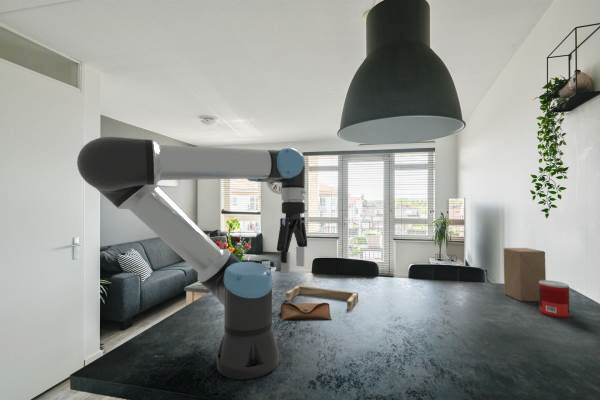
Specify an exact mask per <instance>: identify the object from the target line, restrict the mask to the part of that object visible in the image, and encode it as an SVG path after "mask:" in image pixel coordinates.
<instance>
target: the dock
mask: <svg viewBox="0 0 600 400" xmlns="http://www.w3.org/2000/svg"><path fill="white" fill-rule="evenodd" d="M300 294H301V295H309V296H315V297H322V298H331V299H338V300H346V310H349V311H351V310H352V309H353V307H354V306H355V305H356V304H357V302H358V301H359V292H355V291H347V290H338V289H331V288H322V287H316V286H315V287H314V286H306V285H296V286H294V287H293V288H291V289H290V290H288V291H286V292H285V301H287V302H290V301H291V300H292V299H294V298H295V297H297V296H298V295H300Z"/></svg>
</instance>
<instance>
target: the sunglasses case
mask: <svg viewBox="0 0 600 400" xmlns="http://www.w3.org/2000/svg"><path fill="white" fill-rule="evenodd" d="M280 319H281V320H280V321H281V322H282V321H284V322H285V321H308V320H309V321H311V320H312V321H315V320H316V321H317V320H319V321H320V320H321V321H322V320H323V321H331V320H332V317H331V311H330V304H329V303H328V302H320V303H314V302H313V303H312V302H311V303H305V302H303V303H291V302H290V303H289V302H283V303H281V305H280Z"/></svg>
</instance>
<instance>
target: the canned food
mask: <svg viewBox="0 0 600 400" xmlns="http://www.w3.org/2000/svg"><path fill="white" fill-rule="evenodd" d="M538 303H539V304H538V305H539V306H538V307H539V312H540V313H541V314H543V315H544V316H547V317H551V318H557V319H567V318H569V317H570V315H571V314H570V312H571V311H570V285H569V284H568V283H566V282H563V281H557V280H548V279H547V280H541V281H539V301H538Z"/></svg>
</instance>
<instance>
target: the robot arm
mask: <svg viewBox="0 0 600 400" xmlns="http://www.w3.org/2000/svg"><path fill="white" fill-rule="evenodd" d="M305 163H306V162H305V156H304V155H303V154H301V153H300V152H299V151H298V150H297V149H295V148H292V147H288V148H283V149H279V150H276V149H253V148H234V147H233V148H232V147H215V146H214V147H210V146H209V147H207V146H189V145H188V146H187V145H186V146H185V145H170V144H169V145H167V144H158V142H156V141H155V140H153V139H147V138H145V139H144V138H134V137H133V138H132V137H131V138H130V137H120V136H119V137H118V136H103V137H102V136H101V137H99V138H95V139H92V140H90V141H89V142H88V143H86V144H85V145H83V147H82V148H81V149H80V151H79V152H78V156H77V161H76V166H77V170H78V173H79V174H80V176H81V178H82V179H83V180H84V181H85V182H86V183H87V184H88V185H90V186H91V187H93V188H95V189H96V190H97V191H98V192H99V193H101V194H102V195H103V196H104V197H105V198H106V199H107V200H108V201H109V202H110V203H111V204H112V205H114V207H116V208H117V209H118V210H129V211H130V212H132V213H133V214H134V215H135V216H136V217H137V218H138V219H139V220H140V221H141V222H142V223H143V224H145V226H147V227H148V228H149V229H150V231H152V232H153V233H154V234H155V235H156V236H158V237H159V239H161V240H162V241H163V242H164V243H165V244H166V245H167V246H169V247H170V248H171V249H172V250H173V251H174V252H175V253H176V254H177V255H178V256H179V257H181V258H182V259H183V260H184V261H185V262H186V263H187V264H188V265H189V266H190V267H191V268H192V269H193V270H194V271H196V272H197V281H198V282H199V283H200V284H201V285H202V286H203V287H204V288H205V289H206V290H208V291H209V292H210V293H211V295H213V296H214V297H215V298H216V299H217V300H218V301H220V303H221V304H222V305H223V314H224V316H223V320H224V321H223V324H224V325H223V326H224V327H223V328H224V330H223V334H222V338H221V341H220V345H219V348H218V351H217V354H216V369H217V371H218V373H220V375H222V376H224V377H227V378H229V379H234V380H251V379H256V378H260V377H263V376H266V375H267V374H269V373H271V372H272V371H274V370H275V369H276V367H278V365H279V362H280V350H279V346H278V344H277V340H276V337H275V333H274V330H273V285H274V284H273V275H272V271H271V269H270V268H269V267H268V266H267V265H265V264H262V263H260V262H258V263H256V262H254V261H241V260H240V258H238V257H237V255H235V254H234V253H233V251H231V250H230V249H228V248H226V249H225V248H224V249H221V248H220V246H218V245H217V244H216V243H215V242H214V241H213V240H212V239H211V238H210V237H209V235H207V234H206V233H205V232H204V231H203V230H202V229H201V228H200V227H199V226H198V225H197V224H196V223H195V222H194V221H193V219H191V218H190V217H189V216H188V215H187V214H186V213H185V212H184V211H183V210H182V209H181V208H180V207H179V206H178V205H177V204H176V203H175V202H174V201H173V200H172V199H171V198H170V197H169V196H168V195H167V194H166V193H165V192H164V191H163V190H162V189H161V188H160V187H159V185H158V183H159V182H160V181H181V180H187V181H188V180H193V181H194V180H247V181H248V182H255V183H279V184H280V183H281V201H282V202H281V213H282V214H283V215H284V214H285V217H283V218H282V217H281V218H280V220H279V231H278V238H277V244H276V252H278V253H279V252H280V274H285V275H286V274H287V275H289V274H291V270H290V269H291V258H290V257H291V252H290V251H289V250H290V246H291V242H292V239H293V238H292V237H293V234H294V238H295V241H296V245H297V246H296V248H295V249H296V250H295V251H296V253H295V255H296V261H295V262H296V265H295V266H296V267H304V268H305V248H307V247H308V238H307V229H306V220H305V219H306V218H305V216H301V214H303V215H304V214H305V212H306V211H305V209H306V208H305V207H306V203H305V202H304V201H305V196H306V193H307V192H306V190H305V189H306V188H305V185H306V184H305V181H306V180H305V177H306V176H305V173H306V171H305V170H306V166H305V165H306V164H305Z"/></svg>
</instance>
